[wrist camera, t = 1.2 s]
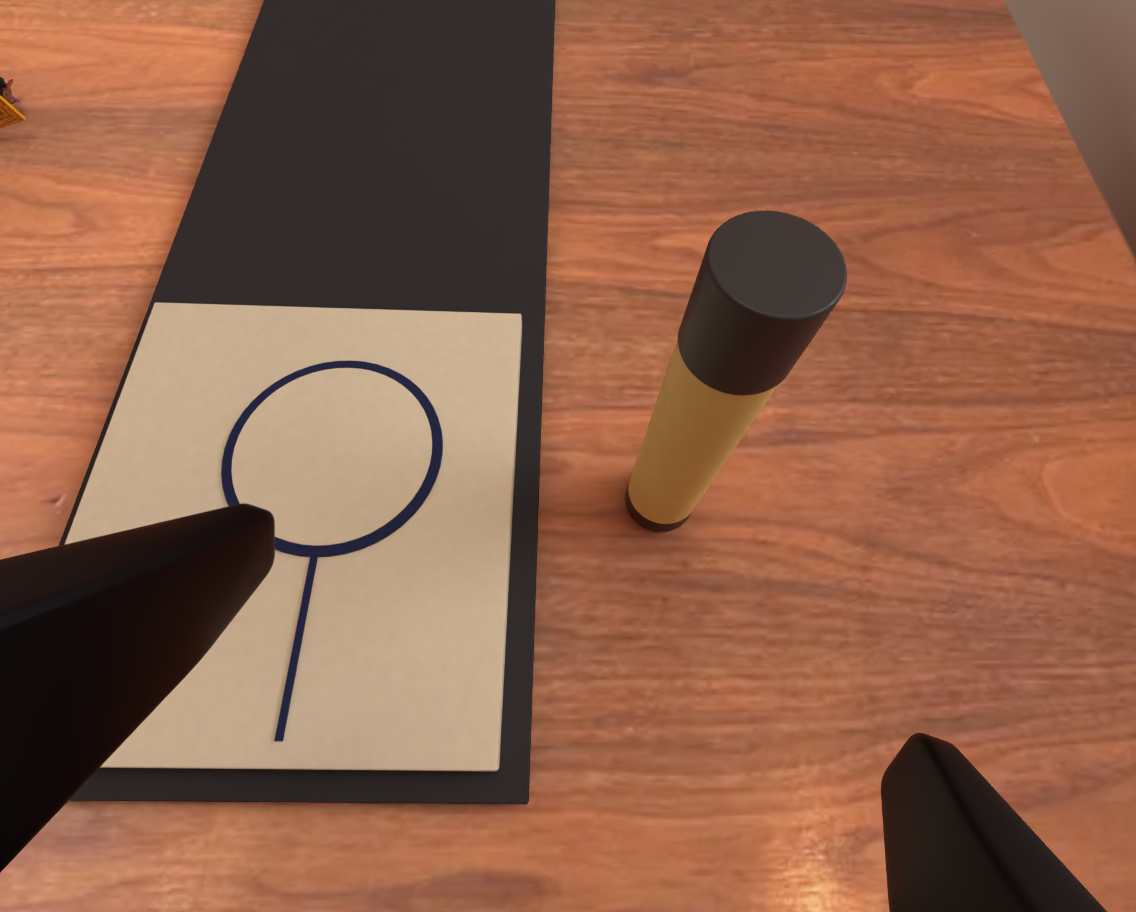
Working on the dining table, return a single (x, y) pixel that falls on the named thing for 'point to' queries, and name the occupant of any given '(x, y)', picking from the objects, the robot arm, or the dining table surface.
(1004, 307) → the dining table surface
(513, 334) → the long black board
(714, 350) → the disc
